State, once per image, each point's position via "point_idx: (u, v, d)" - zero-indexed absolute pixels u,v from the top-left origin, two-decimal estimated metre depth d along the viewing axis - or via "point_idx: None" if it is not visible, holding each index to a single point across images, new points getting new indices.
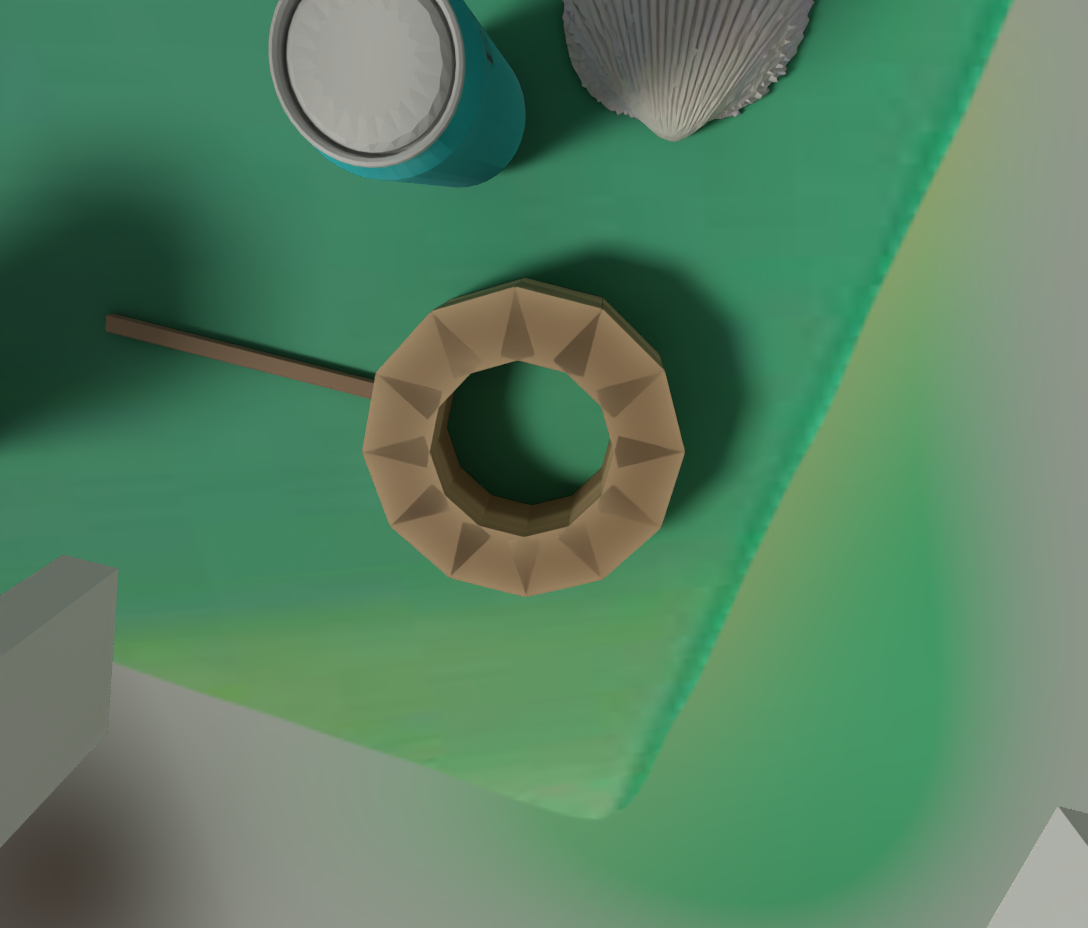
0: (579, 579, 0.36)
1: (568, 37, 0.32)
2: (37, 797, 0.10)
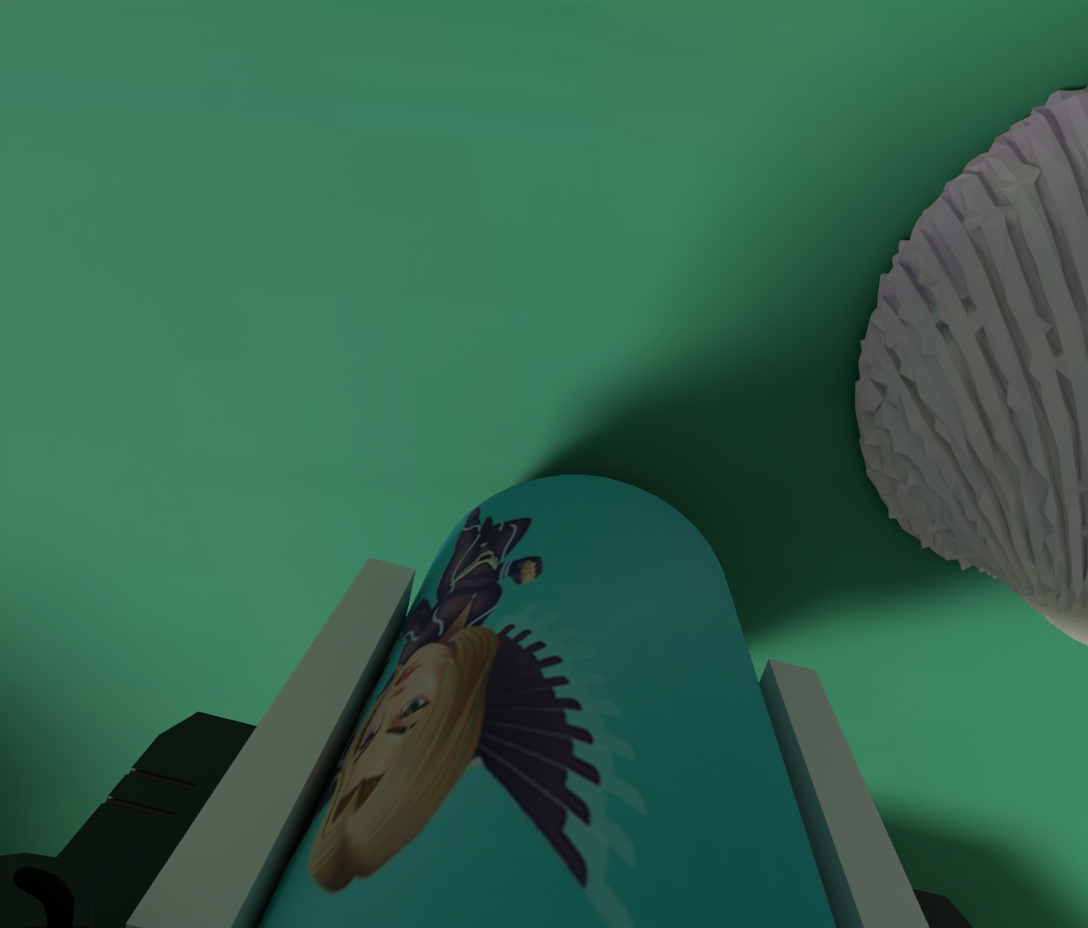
0: None
1: (871, 431, 0.14)
2: None
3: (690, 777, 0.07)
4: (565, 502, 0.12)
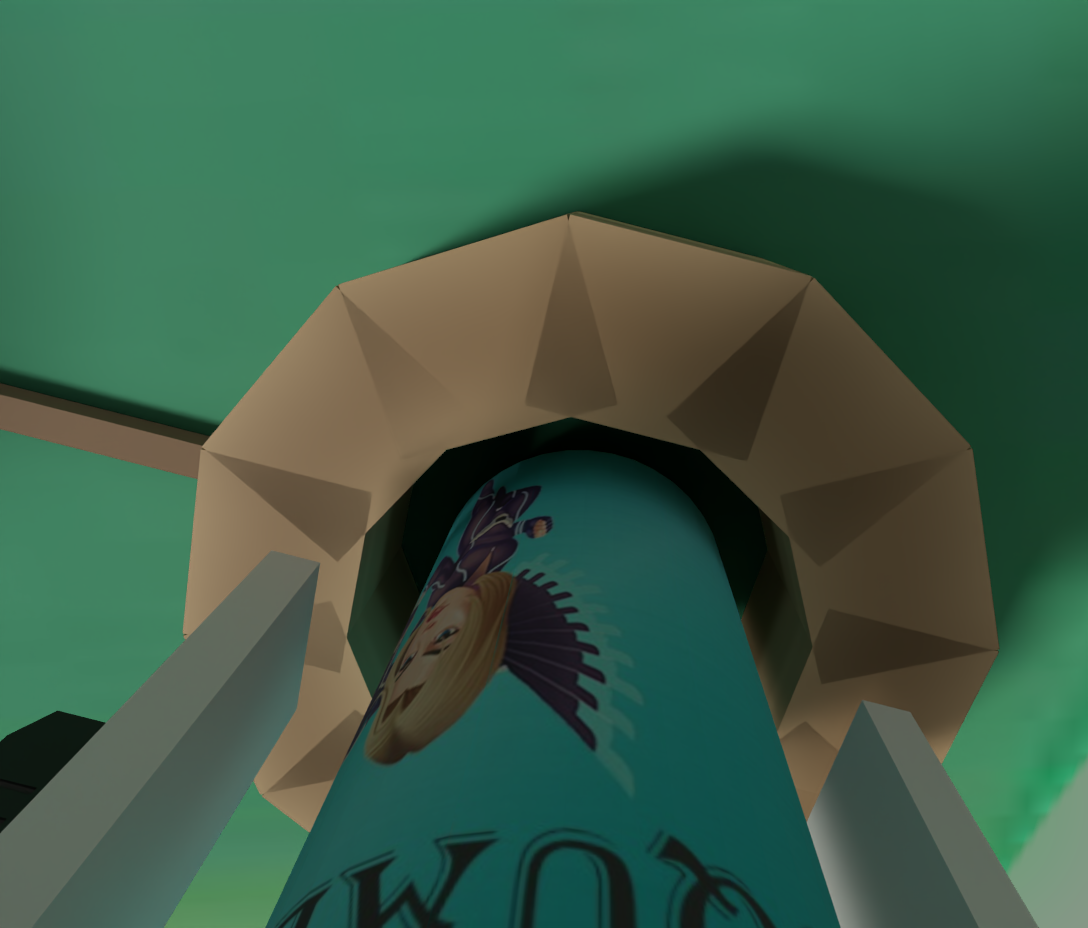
0: None
1: None
2: (259, 762, 0.11)
3: (681, 682, 0.08)
4: (571, 473, 0.14)
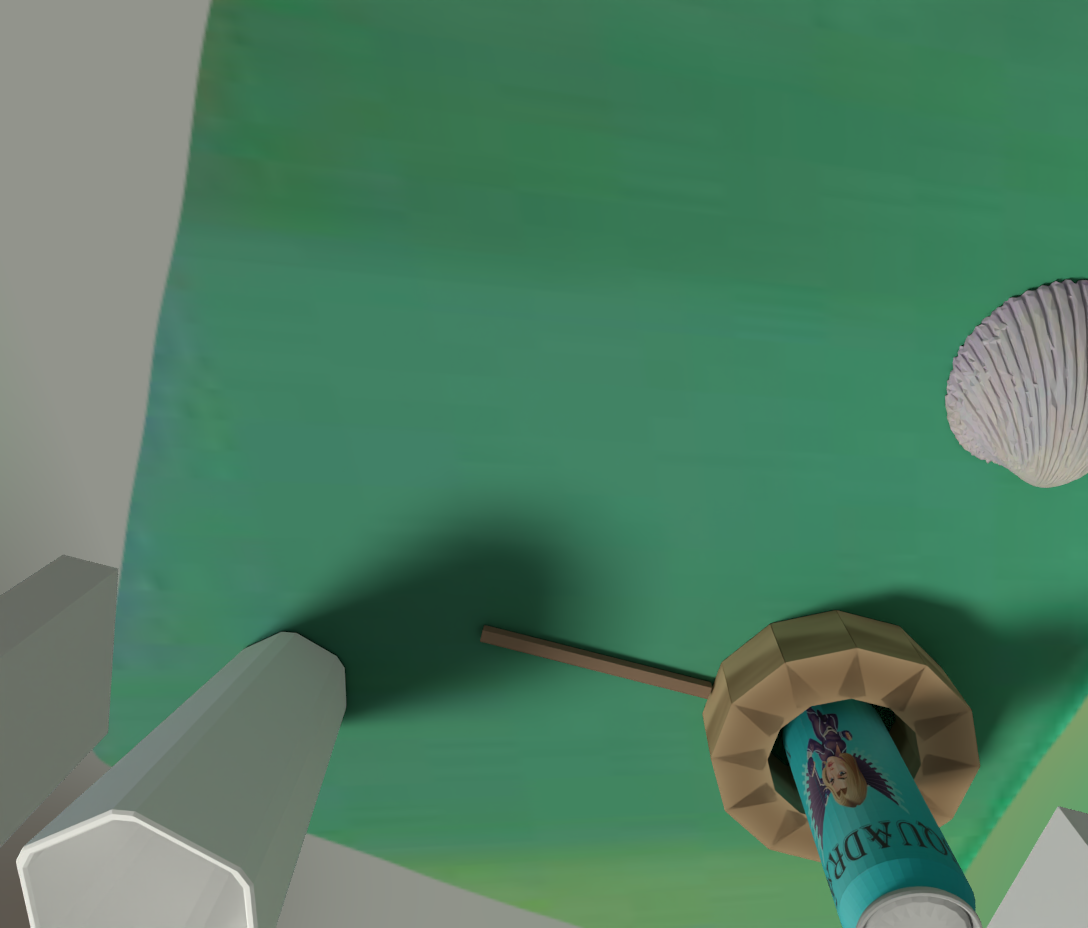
0: None
1: (952, 412, 0.40)
2: (37, 797, 0.10)
3: (906, 788, 0.37)
4: (842, 708, 0.43)
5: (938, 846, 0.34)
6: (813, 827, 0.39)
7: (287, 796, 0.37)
